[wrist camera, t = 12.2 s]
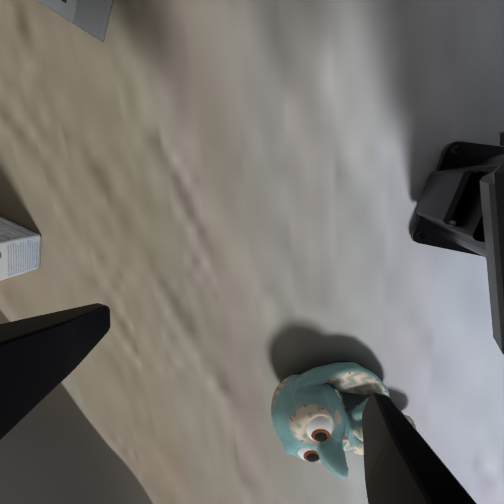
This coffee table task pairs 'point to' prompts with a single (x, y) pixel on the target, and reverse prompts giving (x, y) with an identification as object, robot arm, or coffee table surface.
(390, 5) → the coffee table surface
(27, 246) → the medicine box
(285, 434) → the stuffed animal
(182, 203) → the coffee table surface
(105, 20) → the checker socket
